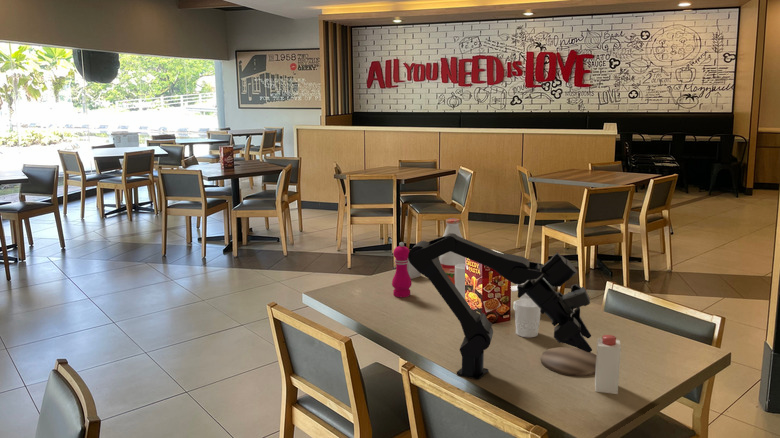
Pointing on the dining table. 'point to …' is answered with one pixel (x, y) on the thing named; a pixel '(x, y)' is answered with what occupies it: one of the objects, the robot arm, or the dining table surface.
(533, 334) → the white cup
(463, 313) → the robot arm
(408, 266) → the tea bag
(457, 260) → the fruit juice
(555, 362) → the walnut serving board
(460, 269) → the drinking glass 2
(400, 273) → the pepper mill
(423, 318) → the dining table surface
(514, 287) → the character figurine
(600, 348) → the square squeeze bottle
